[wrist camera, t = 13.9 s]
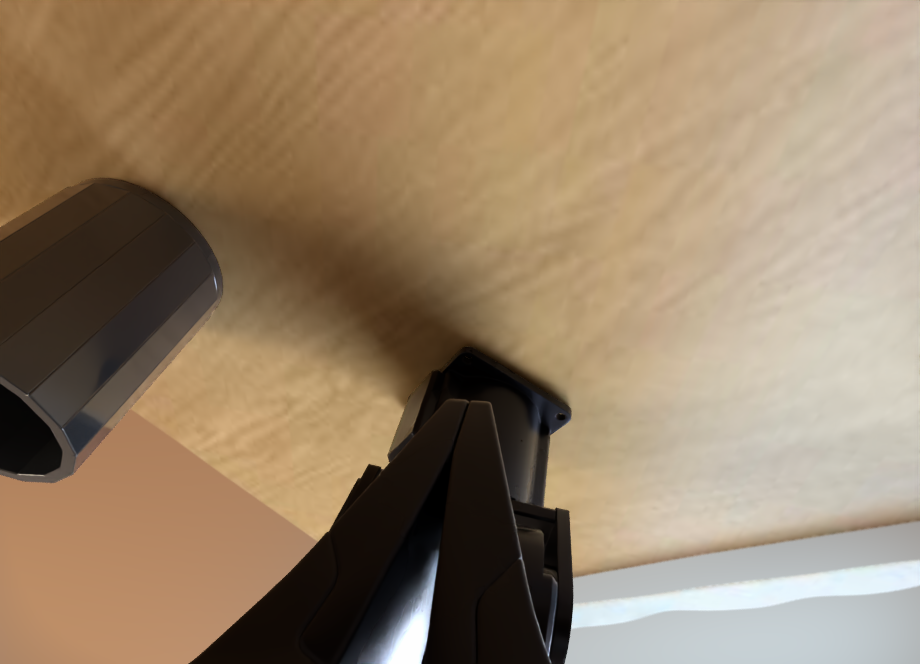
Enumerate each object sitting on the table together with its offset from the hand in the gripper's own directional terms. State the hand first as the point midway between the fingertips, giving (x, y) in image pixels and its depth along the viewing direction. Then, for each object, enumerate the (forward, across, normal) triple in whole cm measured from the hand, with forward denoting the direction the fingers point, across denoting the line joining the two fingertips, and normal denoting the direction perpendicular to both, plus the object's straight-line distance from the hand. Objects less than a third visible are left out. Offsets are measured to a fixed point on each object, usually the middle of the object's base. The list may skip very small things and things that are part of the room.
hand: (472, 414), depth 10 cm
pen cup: (+12, +19, +4) cm, 23 cm away
